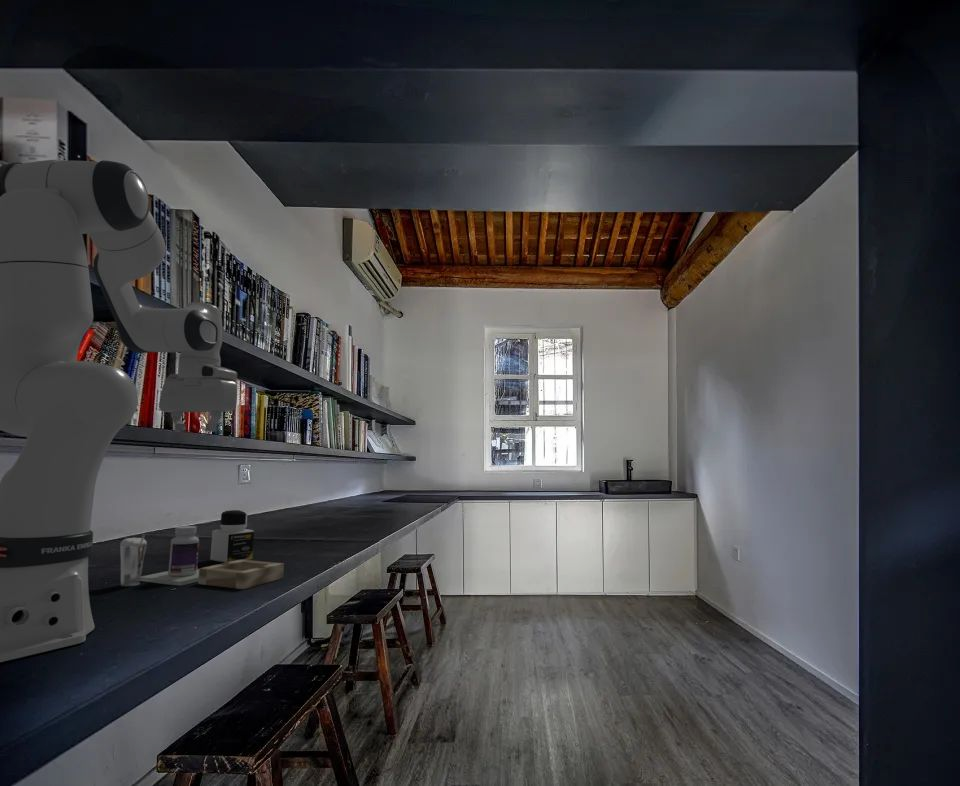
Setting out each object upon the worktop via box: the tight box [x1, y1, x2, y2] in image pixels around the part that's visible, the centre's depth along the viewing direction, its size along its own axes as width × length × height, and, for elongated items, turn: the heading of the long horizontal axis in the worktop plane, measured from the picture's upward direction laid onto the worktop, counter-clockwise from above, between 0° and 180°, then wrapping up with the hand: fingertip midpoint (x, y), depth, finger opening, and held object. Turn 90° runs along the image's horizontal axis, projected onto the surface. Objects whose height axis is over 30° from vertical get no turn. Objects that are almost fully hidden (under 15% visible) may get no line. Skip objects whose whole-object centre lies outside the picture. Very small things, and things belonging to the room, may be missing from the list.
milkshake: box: [119, 533, 148, 587], centre depth 113 cm, size 4×5×10 cm
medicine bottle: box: [209, 509, 255, 563], centre depth 142 cm, size 7×7×12 cm
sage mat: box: [140, 568, 199, 587], centre depth 119 cm, size 11×11×1 cm
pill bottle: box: [167, 525, 200, 576], centre depth 120 cm, size 5×5×10 cm
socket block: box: [197, 559, 285, 590], centre depth 118 cm, size 12×12×3 cm
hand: (194, 431), depth 132 cm, fingers open, 8 cm apart
